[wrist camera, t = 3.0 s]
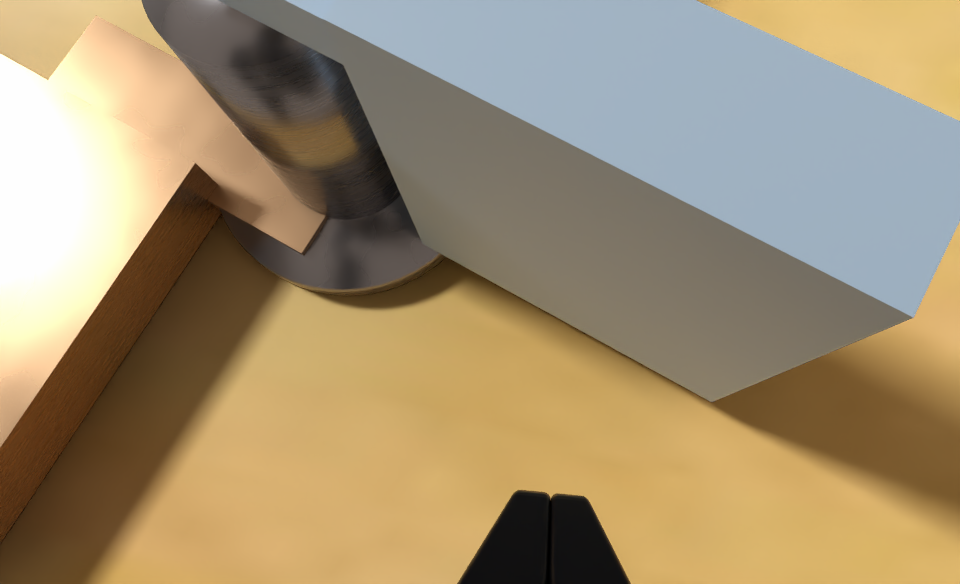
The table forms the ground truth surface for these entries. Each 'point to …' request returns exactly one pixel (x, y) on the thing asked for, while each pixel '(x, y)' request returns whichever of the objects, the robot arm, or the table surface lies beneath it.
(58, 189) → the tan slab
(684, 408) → the table surface
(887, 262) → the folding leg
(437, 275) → the table surface
